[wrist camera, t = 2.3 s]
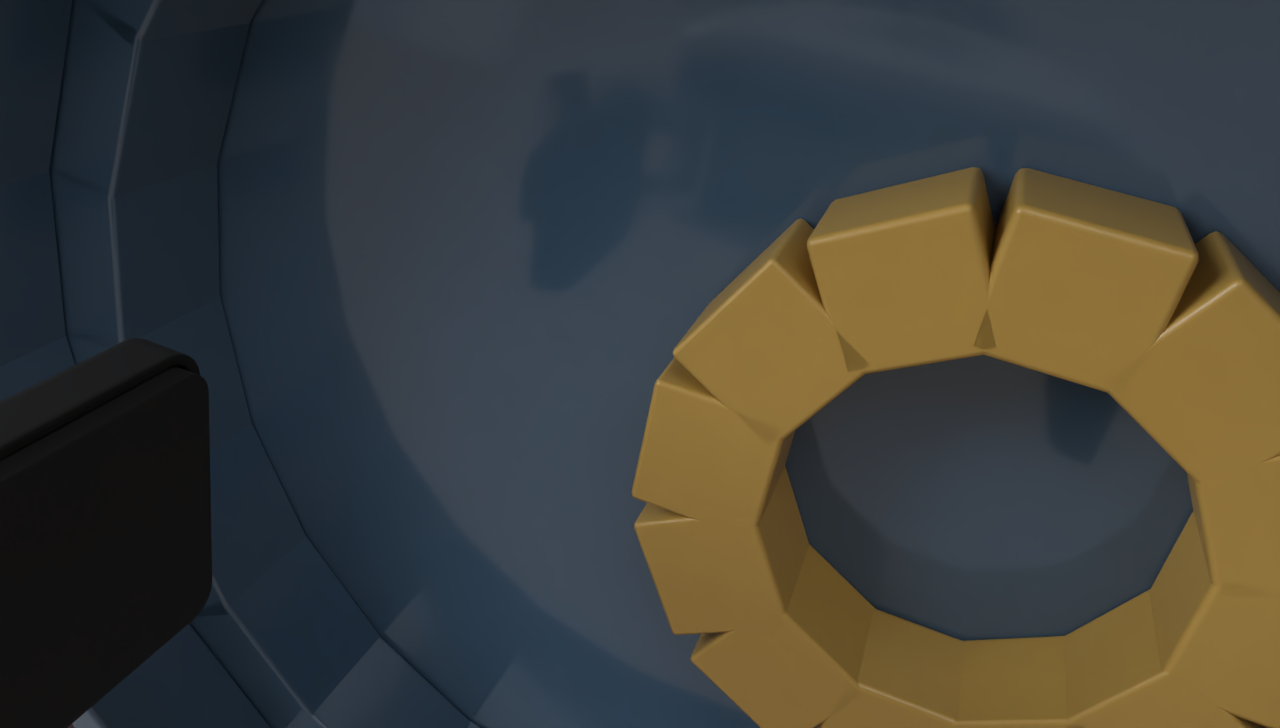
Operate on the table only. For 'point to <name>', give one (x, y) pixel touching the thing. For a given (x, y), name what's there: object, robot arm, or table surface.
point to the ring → (953, 329)
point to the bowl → (579, 313)
